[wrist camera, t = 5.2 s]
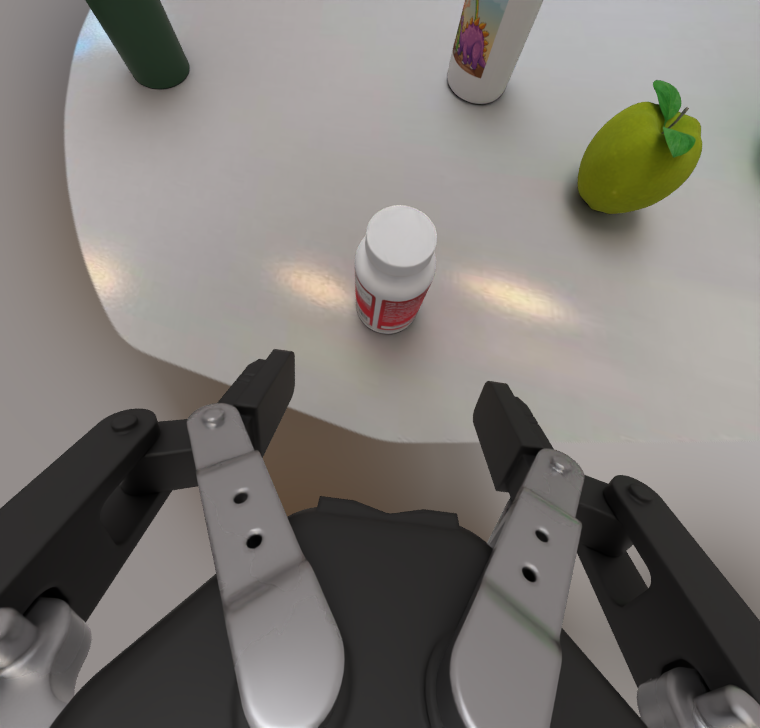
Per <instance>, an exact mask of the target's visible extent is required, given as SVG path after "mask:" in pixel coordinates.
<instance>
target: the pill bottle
mask: <svg viewBox="0 0 760 728" xmlns="http://www.w3.org/2000/svg"><path fill="white" fill-rule="evenodd" d="M436 243H437V233H436V229H435V226H434V225H433V223H432V221H431V220H430V219H429V218H428V216H427V215H425V214H424V213H423V212H421V211H420V210H418V209H415V208H413V207H409V206H403V205H395V206H390V207H387V208H384V209H382V210H380V211H379V212H377V213H376V214H375V215H374V216H373V217H372V218H371V220H370V221H369V223H368V226H367V230H366V236H365V237H364V238H363V239H362V241H361V242H360V244H359V246H358V248H357V251H356V255H355V290H356V308H357V312H358V315H359V317H360V319H361V320H362V322H363V323H364V324H365V325H366V326H367V327H369V328H370V329H372V330H374V331H376V332H379V333H385V334H391V333H396V332H399V331H402V330H403V329H405V328H406V327H408V326H409V325H410V324H411V323H412V321H413V320H414V318H415V316H416V314H417V312H418V310H419V308H420V306H421V304H422V301H423V299H424V297H425V295H426V293H427V291H428V289H429V287H430V285H431V282H432V280H433V277H434V275H435V271H436V257H435V253H434V250H435V248H436Z"/></svg>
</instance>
